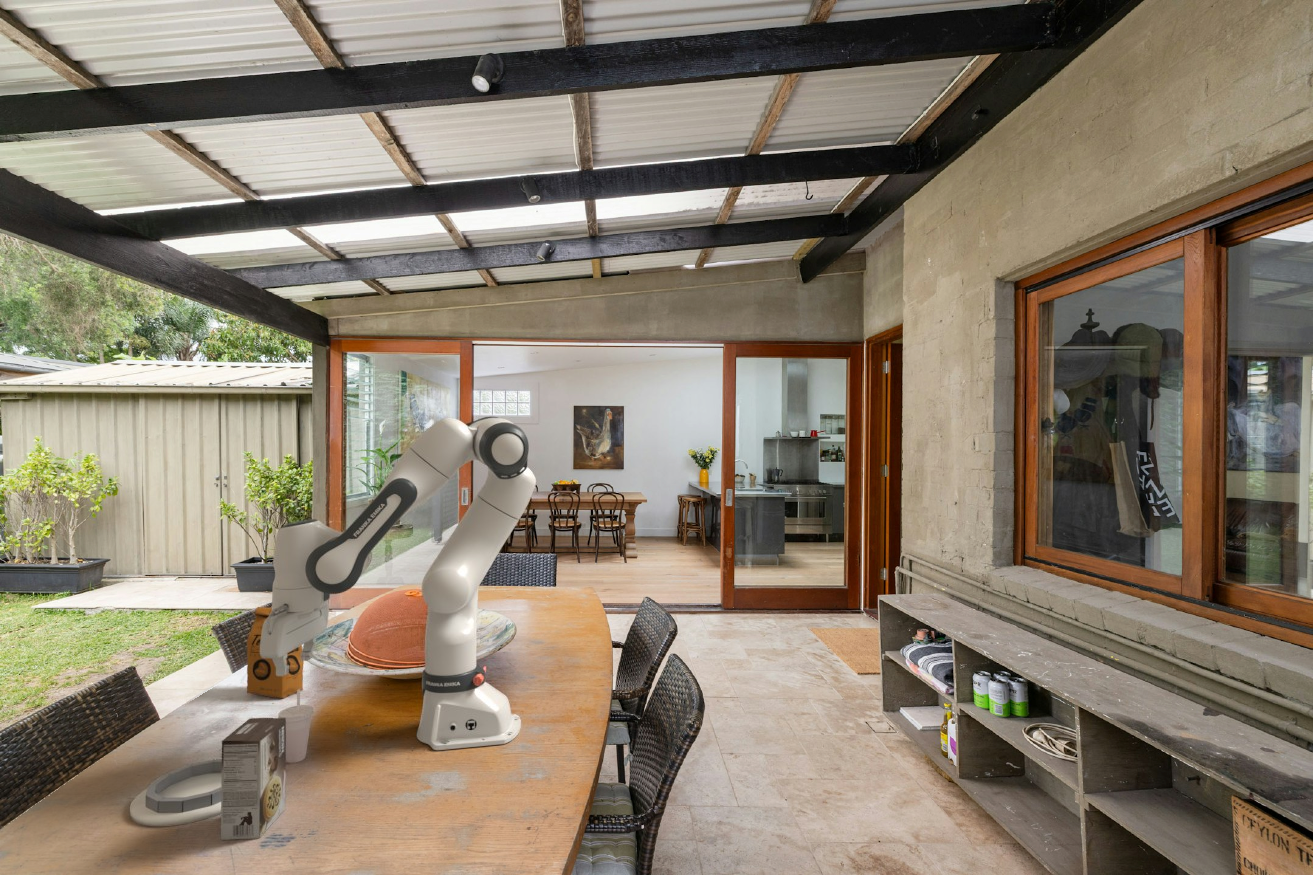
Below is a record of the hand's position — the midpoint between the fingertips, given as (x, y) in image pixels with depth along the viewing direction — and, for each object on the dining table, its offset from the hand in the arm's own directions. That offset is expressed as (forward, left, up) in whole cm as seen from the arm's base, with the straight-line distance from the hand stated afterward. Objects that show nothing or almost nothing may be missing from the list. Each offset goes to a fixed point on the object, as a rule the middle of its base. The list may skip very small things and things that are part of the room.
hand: (294, 667), depth 135 cm
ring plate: (+10, +14, -19) cm, 25 cm away
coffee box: (-6, +24, -19) cm, 31 cm away
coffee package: (+24, -37, -19) cm, 48 cm away
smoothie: (0, 0, -19) cm, 19 cm away
